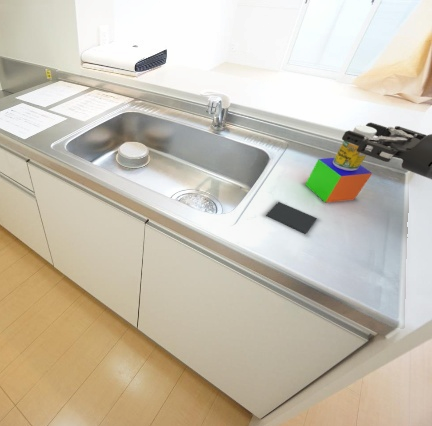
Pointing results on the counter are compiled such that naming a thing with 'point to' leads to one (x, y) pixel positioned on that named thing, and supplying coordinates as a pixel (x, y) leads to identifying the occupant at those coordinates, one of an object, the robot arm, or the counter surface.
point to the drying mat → (291, 217)
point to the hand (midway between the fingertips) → (355, 130)
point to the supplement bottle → (352, 151)
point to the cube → (336, 181)
